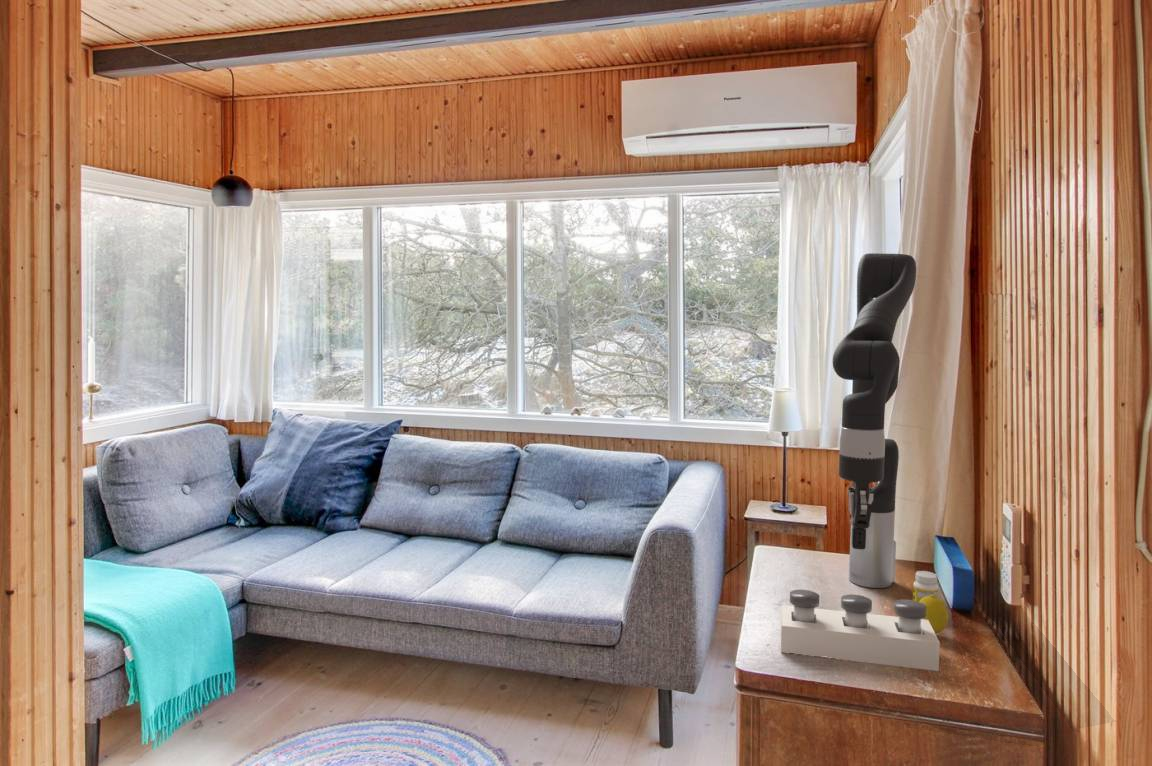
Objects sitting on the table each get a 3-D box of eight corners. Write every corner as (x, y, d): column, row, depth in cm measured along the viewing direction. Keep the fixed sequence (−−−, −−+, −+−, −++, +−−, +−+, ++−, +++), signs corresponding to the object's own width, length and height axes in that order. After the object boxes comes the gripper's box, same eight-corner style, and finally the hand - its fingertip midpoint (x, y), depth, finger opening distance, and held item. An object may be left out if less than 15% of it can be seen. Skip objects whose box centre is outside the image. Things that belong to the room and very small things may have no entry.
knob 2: (895, 639, 129) (896, 608, 128) (891, 627, 134) (892, 598, 133) (927, 642, 127) (929, 612, 127) (922, 630, 132) (923, 601, 132)
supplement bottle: (915, 607, 153) (917, 568, 152) (940, 613, 150) (942, 573, 149) (909, 614, 149) (910, 574, 148) (934, 620, 146) (936, 579, 145)
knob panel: (780, 652, 132) (781, 625, 131) (780, 630, 141) (781, 605, 141) (938, 671, 125) (939, 642, 125) (926, 646, 135) (928, 619, 134)
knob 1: (789, 627, 133) (790, 598, 133) (788, 616, 138) (789, 588, 138) (819, 630, 132) (820, 601, 132) (817, 619, 137) (818, 591, 137)
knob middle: (841, 633, 131) (842, 603, 131) (839, 621, 136) (840, 593, 136) (872, 636, 130) (873, 606, 129) (869, 625, 135) (870, 596, 134)
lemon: (929, 643, 136) (931, 601, 135) (908, 631, 141) (910, 590, 140) (954, 640, 137) (956, 598, 137) (932, 628, 143) (934, 588, 142)
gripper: (890, 460, 123) (886, 561, 124) (879, 447, 136) (875, 539, 137) (842, 458, 125) (839, 557, 126) (836, 445, 137) (833, 535, 139)
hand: (858, 547), depth 132 cm, fingers closed
